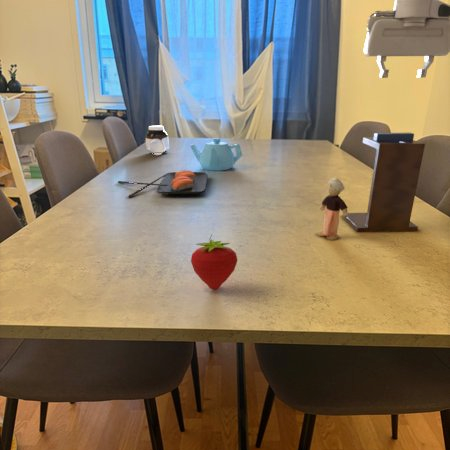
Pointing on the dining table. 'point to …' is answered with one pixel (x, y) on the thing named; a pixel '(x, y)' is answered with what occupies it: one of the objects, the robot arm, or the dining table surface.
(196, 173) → the sushi plate
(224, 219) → the dining table surface
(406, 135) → the peg
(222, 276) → the strawberry
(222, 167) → the teapot
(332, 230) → the grandmother figurine
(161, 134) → the spread jar
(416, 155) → the stand
